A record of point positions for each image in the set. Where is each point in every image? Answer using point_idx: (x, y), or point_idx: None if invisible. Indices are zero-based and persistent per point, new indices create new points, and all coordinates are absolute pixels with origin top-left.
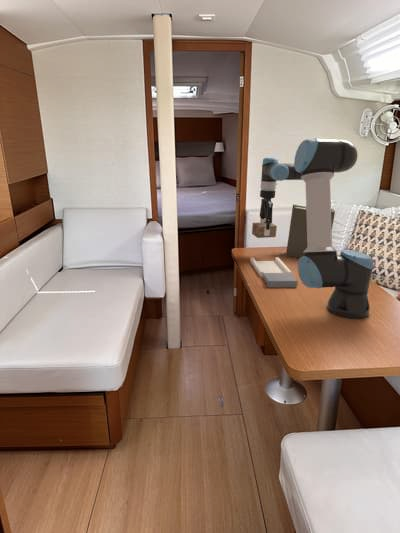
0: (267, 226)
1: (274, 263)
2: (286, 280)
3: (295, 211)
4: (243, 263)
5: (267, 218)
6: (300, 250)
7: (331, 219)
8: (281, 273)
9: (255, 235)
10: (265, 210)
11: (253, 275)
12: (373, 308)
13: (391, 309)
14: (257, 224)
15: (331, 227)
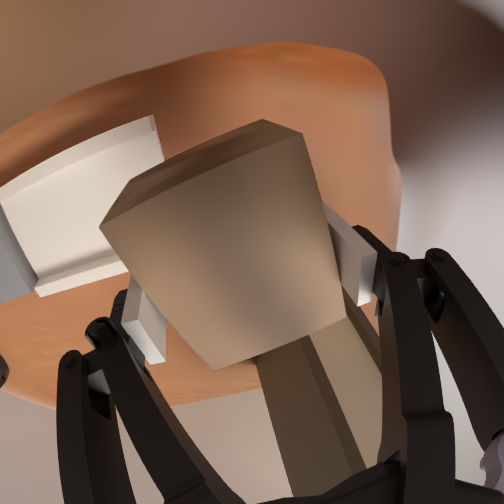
0: (113, 320)
1: None
2: None
3: (345, 469)
4: (137, 84)
5: (57, 397)
6: None
7: (290, 481)
8: (11, 267)
9: (179, 155)
10: (183, 484)
11: (12, 159)
12: (15, 384)
13: (30, 399)
14: (214, 202)
15: (282, 458)
